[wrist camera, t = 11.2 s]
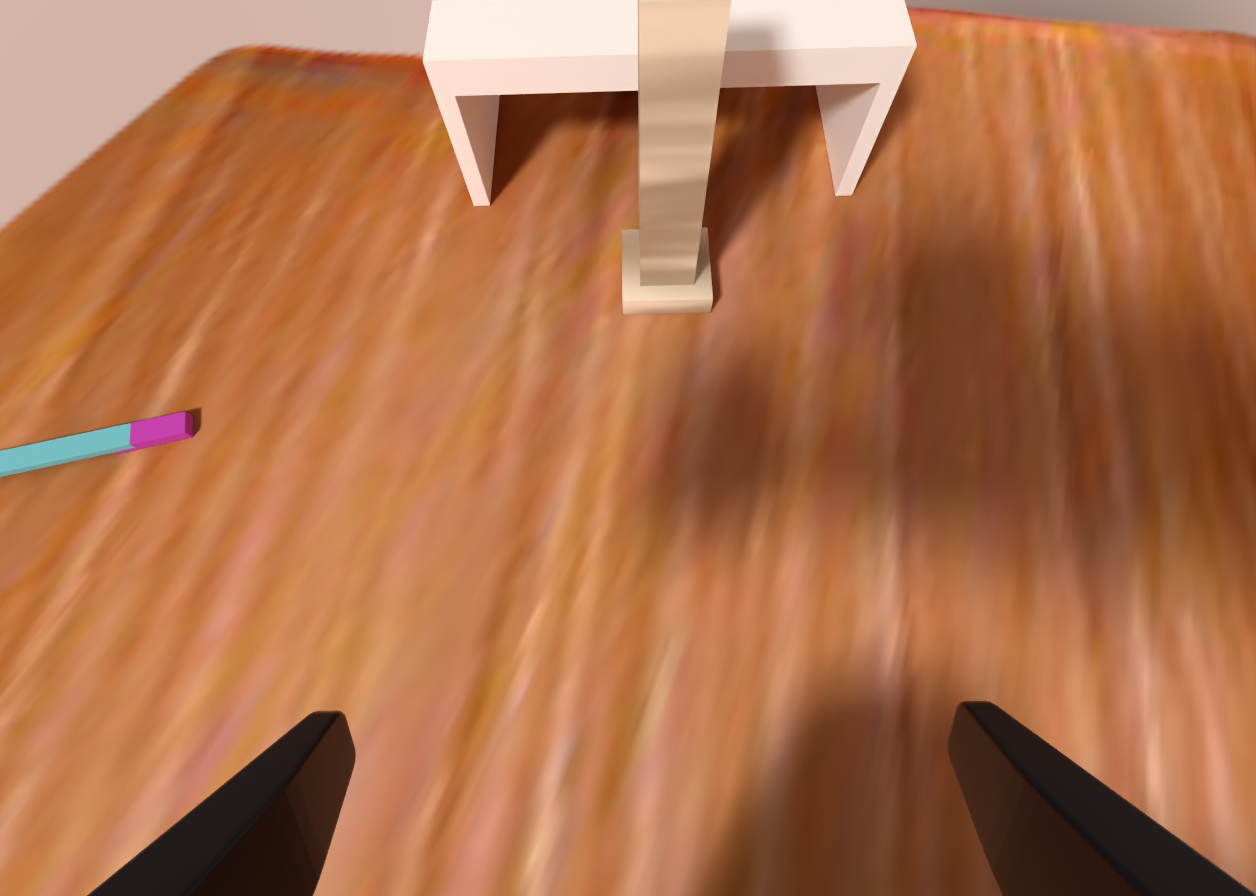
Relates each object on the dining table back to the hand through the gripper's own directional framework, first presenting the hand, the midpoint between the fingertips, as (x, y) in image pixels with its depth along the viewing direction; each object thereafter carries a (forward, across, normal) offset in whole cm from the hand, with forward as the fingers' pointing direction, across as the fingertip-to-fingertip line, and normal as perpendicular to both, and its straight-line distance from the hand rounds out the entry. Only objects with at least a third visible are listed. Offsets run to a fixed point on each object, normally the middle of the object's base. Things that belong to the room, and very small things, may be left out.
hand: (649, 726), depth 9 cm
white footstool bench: (+29, -1, -9) cm, 30 cm away
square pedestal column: (+27, -1, -8) cm, 28 cm away
